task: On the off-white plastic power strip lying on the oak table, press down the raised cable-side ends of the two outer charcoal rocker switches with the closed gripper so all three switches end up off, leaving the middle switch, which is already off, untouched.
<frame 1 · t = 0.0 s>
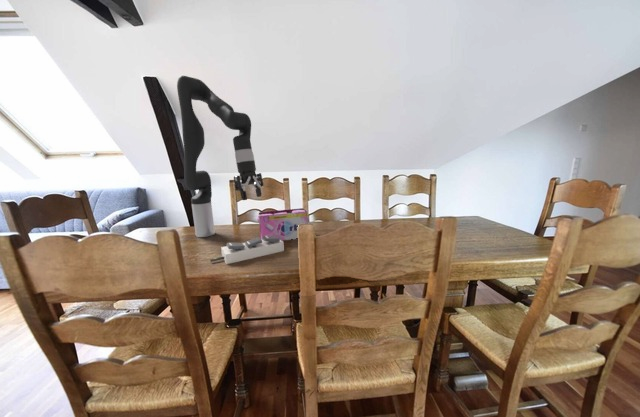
hand: (252, 198, 110), 22 cm above the table, tool pointing down, fingers open, 8 cm apart
gum box: (284, 238, 126), on the table
power strip: (253, 253, 107), on the table
rocker 1: (235, 245, 101), point 6 cm above the table, hinge at -12.0°
rocker 2: (253, 242, 105), point 6 cm above the table, hinge at 12.0°
rocker 3: (271, 238, 109), point 6 cm above the table, hinge at -12.0°
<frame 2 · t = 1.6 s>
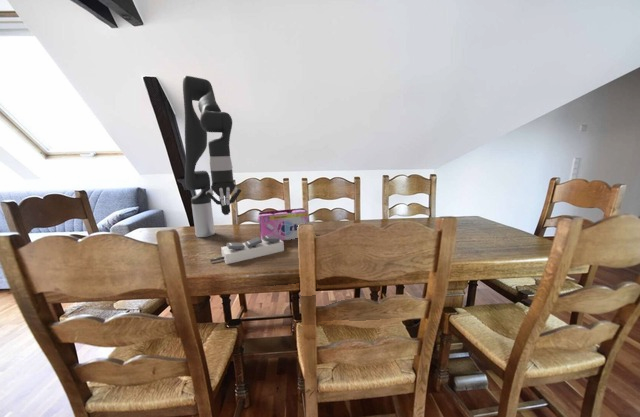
hand: (226, 214, 97), 19 cm above the table, tool pointing down, fingers closed
nothing on the table moved.
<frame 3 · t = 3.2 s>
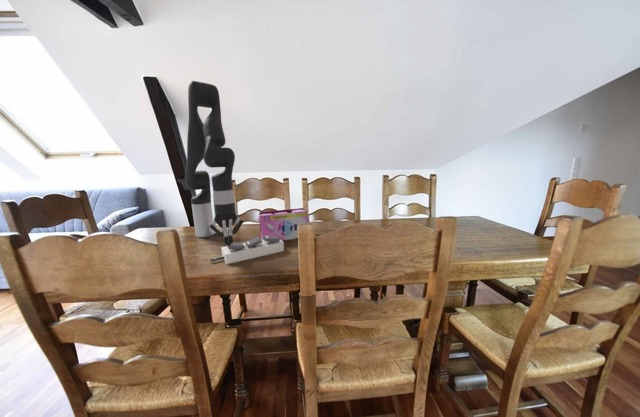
hand: (228, 244, 100), 7 cm above the table, tool pointing down, fingers closed
rocker 1: (235, 245, 101), point 6 cm above the table, hinge at -10.6°, touching gripper
everything else where it was.
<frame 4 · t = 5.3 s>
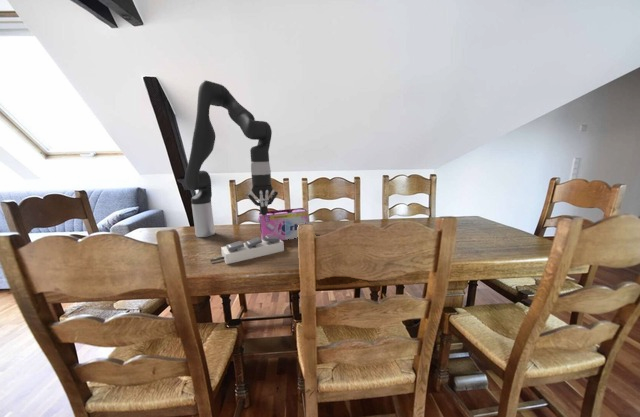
hand: (264, 215, 105), 16 cm above the table, tool pointing down, fingers closed
rocker 1: (235, 245, 101), point 6 cm above the table, hinge at 7.0°
everything else where it was.
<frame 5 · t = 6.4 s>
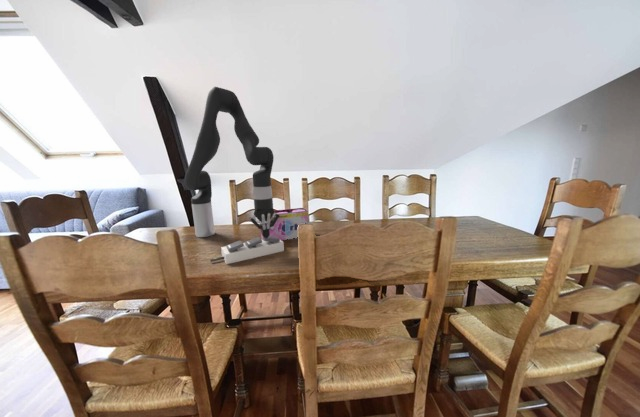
hand: (266, 237, 107), 7 cm above the table, tool pointing down, fingers closed
rocker 1: (234, 245, 101), point 6 cm above the table, hinge at 11.1°
rocker 3: (271, 238, 109), point 6 cm above the table, hinge at -12.0°, touching gripper
everything else where it was.
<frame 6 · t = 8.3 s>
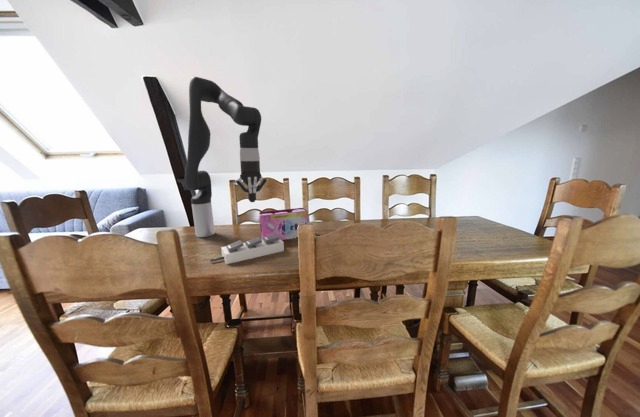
hand: (252, 201, 106), 22 cm above the table, tool pointing down, fingers closed
rocker 1: (234, 245, 101), point 6 cm above the table, hinge at 14.5°
rocker 3: (270, 238, 109), point 6 cm above the table, hinge at 2.3°
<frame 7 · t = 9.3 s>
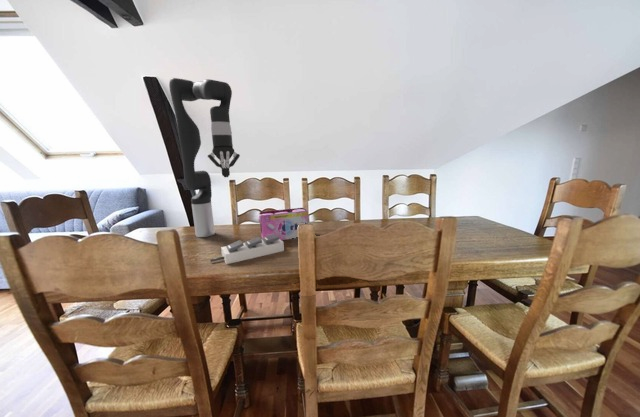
hand: (226, 177, 106), 32 cm above the table, tool pointing down, fingers closed
rocker 1: (234, 245, 101), point 6 cm above the table, hinge at 15.3°
rocker 3: (270, 238, 109), point 6 cm above the table, hinge at 6.1°
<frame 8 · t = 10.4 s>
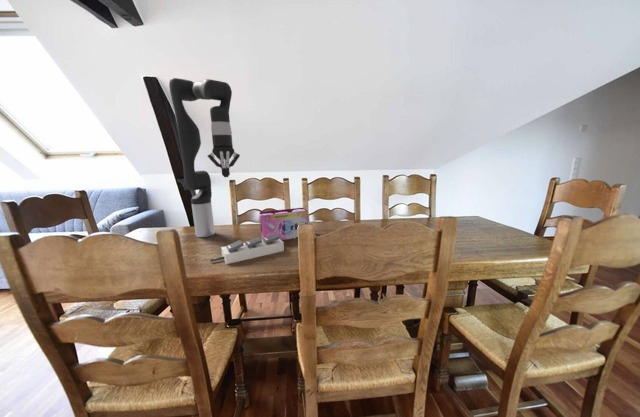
hand: (226, 177, 106), 32 cm above the table, tool pointing down, fingers closed
rocker 1: (234, 245, 101), point 6 cm above the table, hinge at 15.9°
rocker 3: (270, 238, 109), point 6 cm above the table, hinge at 8.6°
at the end: rocker 1 at +16° (first picture: -12°); rocker 3 at +9° (first picture: -12°); rocker 2 at +12° (first picture: +12°) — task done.
